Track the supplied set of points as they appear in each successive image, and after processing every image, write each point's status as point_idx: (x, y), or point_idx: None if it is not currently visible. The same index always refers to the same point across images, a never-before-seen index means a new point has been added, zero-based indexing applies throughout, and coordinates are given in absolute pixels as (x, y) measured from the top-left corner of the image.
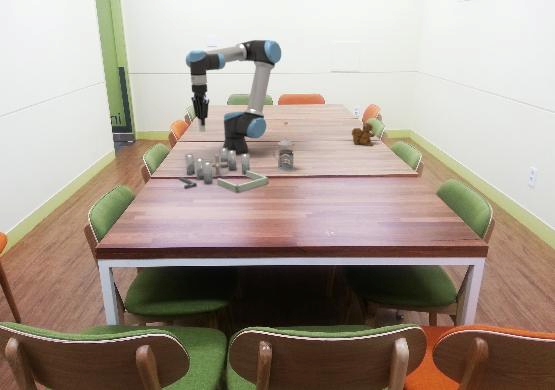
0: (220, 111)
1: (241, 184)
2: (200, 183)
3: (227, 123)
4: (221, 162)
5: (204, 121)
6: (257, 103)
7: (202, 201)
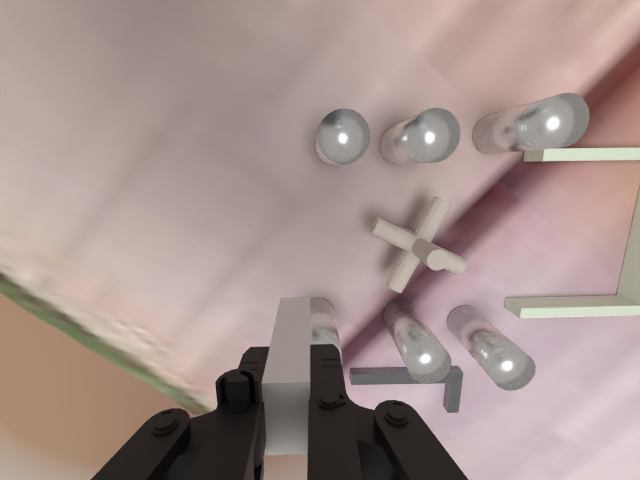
0: None
1: None
2: (444, 343)
3: None
4: (337, 164)
5: (343, 382)
6: None
7: (584, 419)
